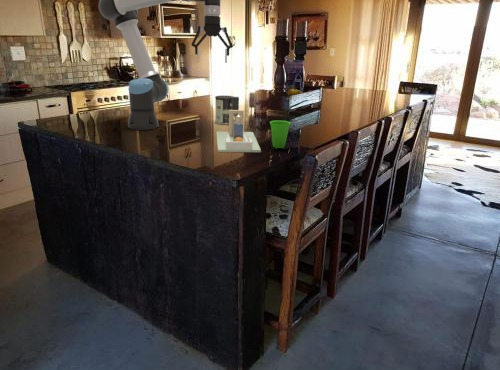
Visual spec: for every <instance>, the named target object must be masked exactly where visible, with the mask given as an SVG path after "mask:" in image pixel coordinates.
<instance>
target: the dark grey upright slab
mask: <svg viewBox="0 0 500 370" xmlns="http://www.w3.org/2000/svg"><path fill="white" fill-rule="evenodd" d="M239 102H240V97H239V96H233V97H232V110H240V106H239V105H240V103H239ZM234 119H235V121H236V124H234V132H233V142H234V139H235V138H236V137H241V138H242V139H243V132H244V123H243V124H240V122H241V120H242V117H241V116H240V115H239V113H234Z"/></svg>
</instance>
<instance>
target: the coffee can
mask: <svg viewBox="0 0 500 370" xmlns="http://www.w3.org/2000/svg"><path fill="white" fill-rule="evenodd" d="M232 97H234V96H232V95H216V96H214V98H215V124H218V125H229V110H232Z"/></svg>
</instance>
